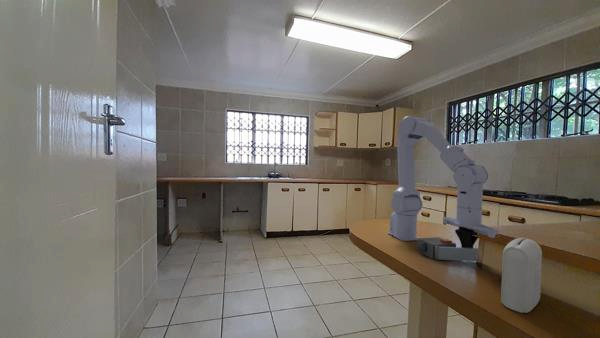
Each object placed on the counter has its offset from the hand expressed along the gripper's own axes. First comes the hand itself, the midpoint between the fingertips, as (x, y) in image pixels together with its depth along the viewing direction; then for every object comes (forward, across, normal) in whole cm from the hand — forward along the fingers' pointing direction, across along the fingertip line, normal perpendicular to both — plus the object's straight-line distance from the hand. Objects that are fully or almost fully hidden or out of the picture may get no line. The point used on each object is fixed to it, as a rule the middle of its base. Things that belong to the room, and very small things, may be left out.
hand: (467, 255), depth 64 cm
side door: (+1, 0, -3) cm, 4 cm away
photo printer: (+2, +19, -9) cm, 21 cm away
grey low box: (+1, -5, -6) cm, 8 cm away
